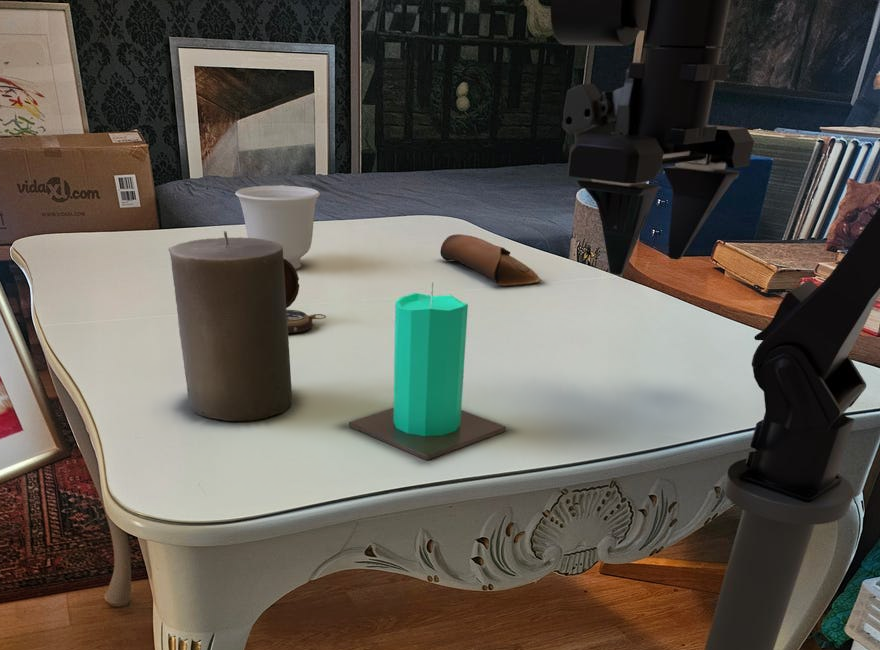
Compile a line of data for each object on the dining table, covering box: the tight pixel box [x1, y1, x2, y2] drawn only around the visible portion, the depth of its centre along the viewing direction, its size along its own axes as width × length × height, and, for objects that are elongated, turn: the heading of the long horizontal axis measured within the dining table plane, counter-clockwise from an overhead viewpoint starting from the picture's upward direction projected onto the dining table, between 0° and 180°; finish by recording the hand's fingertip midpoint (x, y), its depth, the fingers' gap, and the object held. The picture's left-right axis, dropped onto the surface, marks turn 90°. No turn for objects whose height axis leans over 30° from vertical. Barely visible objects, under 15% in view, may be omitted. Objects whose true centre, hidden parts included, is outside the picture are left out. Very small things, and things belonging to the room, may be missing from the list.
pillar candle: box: [167, 230, 293, 422], centre depth 77 cm, size 10×10×15 cm
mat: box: [348, 407, 507, 461], centre depth 77 cm, size 10×10×1 cm
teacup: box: [234, 184, 321, 270], centre depth 127 cm, size 12×15×10 cm
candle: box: [393, 281, 469, 436], centre depth 74 cm, size 6×6×12 cm
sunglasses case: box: [439, 233, 542, 287], centre depth 128 cm, size 18×7×7 cm
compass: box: [283, 258, 327, 334], centre depth 101 cm, size 8×8×7 cm
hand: (646, 266), depth 75 cm, fingers open, 9 cm apart
